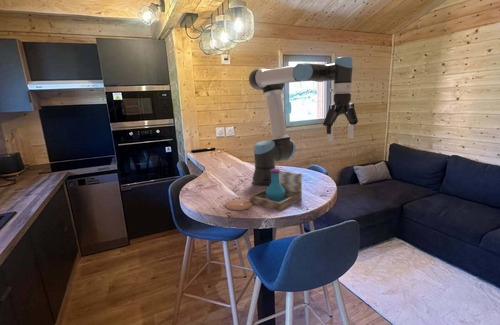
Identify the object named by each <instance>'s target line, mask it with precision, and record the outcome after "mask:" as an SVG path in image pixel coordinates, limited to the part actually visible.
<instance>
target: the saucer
mask: <svg viewBox="0 0 500 325" xmlns="http://www.w3.org/2000/svg"><path fill="white" fill-rule="evenodd" d="M252 206H253V203H252V202H251V201H250V199H244V198H237V199H231V200H229V201H227V202H226V203H225V208H226V209H227V210H230V211H236V212H237V211H246V210H248V209H250V208H252Z"/></svg>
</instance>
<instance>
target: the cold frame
mask: <svg viewBox="0 0 500 325" xmlns="http://www.w3.org/2000/svg"><path fill="white" fill-rule="evenodd" d="M302 175H303V174H302V173H301V172H300V173H298V172H297V173H296V172H293V171H292V172H291V171H284V170H280V171H279V183H280V184H281V186H282V187H283V188H284V189H285V195H284V197H287V198H285V199H283V201H281V202H275V201H271V200H269V199H268V198H267V199H266V198H265V197H267V195H266V190H267V188H266V189H264V190H261V191H258V192H256V193H254V194H252V195H249V200H250V201H251V202H252V204H256V205H259V206H264V207H266V208H270V209H274V210H277V211H282V210H284V209H285V208H287V207H288V206H290V205H292V204H294V203H295V202H298V201H300V200H301V199H302V198H303V197H302V196H303V190H302V189H303V186H302V184H303V182H302V178H303V176H302Z"/></svg>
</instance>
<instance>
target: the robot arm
mask: <svg viewBox="0 0 500 325" xmlns="http://www.w3.org/2000/svg"><path fill="white" fill-rule="evenodd" d="M353 65H354V64H353V57H351V56H339V57H336V58H335V59H334V63H329V64H328V63H326V64H322V63H307V62H299V63H296V64H295V65H288V66H283V67H282V66H281V67H277V68H271V69H270V68H269V69H267V68H255V69H254V70H252V71H251V72H250V74H249V76H248V82H249V85H250V86H251V87H252V88H253V89H254V90H259V91H262V93H263V95H264V96H265V97H266V102H267V109H268V115H269V121H270V127H271V128H270V129H271V135H272V138H271V139H270V140H262V141H259V142H256V143H255V144H254V147H253V149H254V150H253V155H254V171H253V176H252V184H254V185H255V186H256V185H257V186H269V185H270V184H271V172H270V170H271V169H276V163H278V162H282V161H283V162H284V161H288V160H290V159H292V158H293V157H294V155H295V154H296V152H297V148H296V143H295V142H294V141H293V140H292V139H291V136H290V135H288V132H287V131H288V130H287V125H286V120H285V113H284V106H283V101H282V100H283V98H282V92H284V88H285V86H286V85H285V84H289V83H299V82H310V81H311V82H317V83H318V82H319V83H322V82H329V81H333V82H334V83H333V93H334V94H333V102H334V104H329V105H328V111H327V113H326V116H325V119H324V121H323V124H322V125H323V126H325V127H326V134H327V138H326V141H327V142H333V141H334V140H333V139H334V126H333V125H334V123H335V122H336V120H337V119H338V117H339V116H340V115H344V116H345V118H346V119H347V121H348V123H349V124H348V125H347V127H348V128H347V138H348V139H354V131H355V125H358V124H357V123H359V120H358V117H357V113H356V109H355V103H352V102H351V101H352V81H353V80H352V79H353V68H354V67H353ZM350 102H351V103H350Z"/></svg>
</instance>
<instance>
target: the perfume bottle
mask: <svg viewBox="0 0 500 325" xmlns="http://www.w3.org/2000/svg"><path fill="white" fill-rule="evenodd" d="M279 171H281V170H280V169H279V168H275V169H271V170H270V172H271V184H270V185H268V187H267V188H266V189H267V190H266V195H267V196H266V197H267V200H271V201H275V202H281V201H283V200H284V197H285V196H284V195H285V189H284V188H283V187H282V186H281V184H280V183H279Z"/></svg>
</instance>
